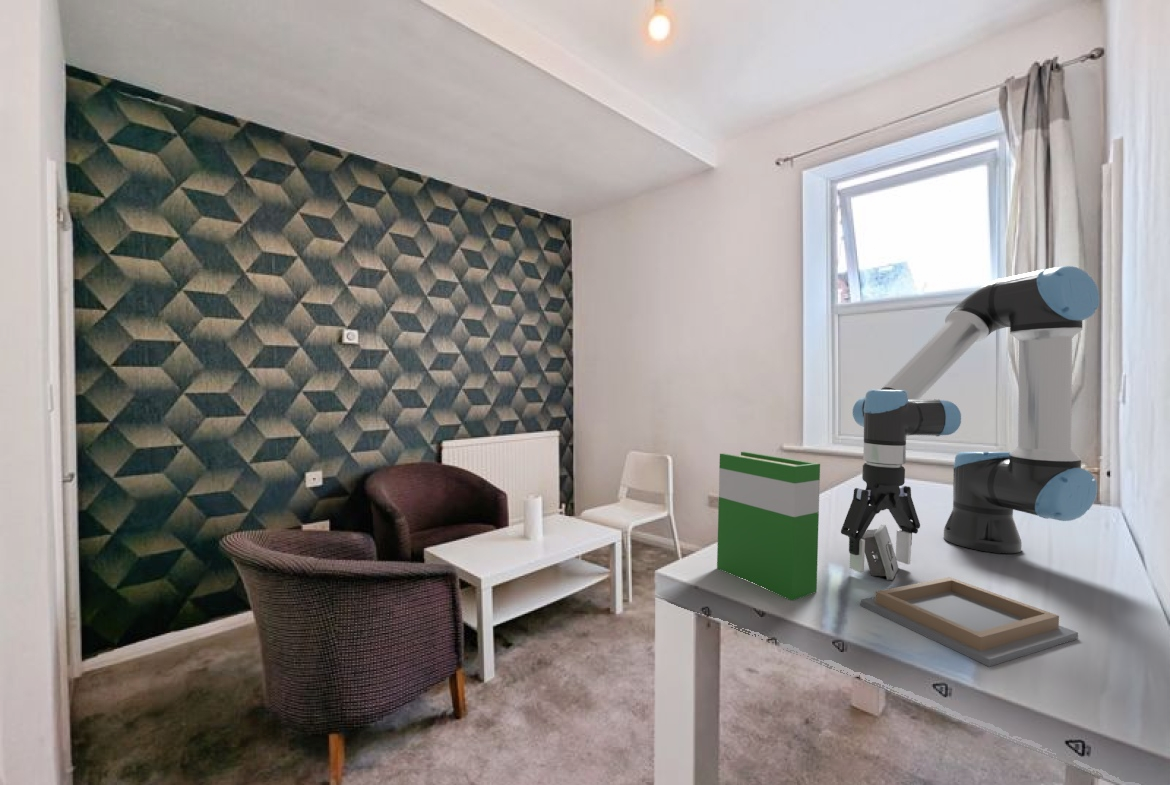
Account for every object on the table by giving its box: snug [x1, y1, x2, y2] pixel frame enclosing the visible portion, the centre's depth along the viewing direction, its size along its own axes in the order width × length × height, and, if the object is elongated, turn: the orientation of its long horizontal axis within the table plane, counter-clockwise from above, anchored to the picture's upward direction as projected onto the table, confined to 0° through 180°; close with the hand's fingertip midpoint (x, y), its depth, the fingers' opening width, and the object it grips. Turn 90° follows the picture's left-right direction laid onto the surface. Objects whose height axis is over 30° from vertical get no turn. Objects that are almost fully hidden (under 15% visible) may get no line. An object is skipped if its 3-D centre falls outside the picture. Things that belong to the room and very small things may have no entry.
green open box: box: [716, 451, 821, 601], centre depth 98 cm, size 18×7×24 cm, turn 32°
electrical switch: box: [861, 524, 899, 581], centre depth 103 cm, size 9×5×9 cm, turn 141°
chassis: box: [860, 576, 1079, 667], centre depth 82 cm, size 22×20×3 cm
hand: (880, 566), depth 103 cm, fingers open, 13 cm apart
